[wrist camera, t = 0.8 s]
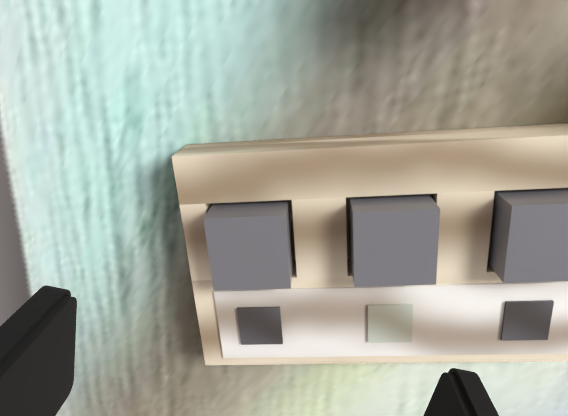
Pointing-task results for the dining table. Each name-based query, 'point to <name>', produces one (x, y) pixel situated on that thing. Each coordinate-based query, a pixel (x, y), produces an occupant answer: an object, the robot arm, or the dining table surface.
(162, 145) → the dining table surface
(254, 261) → the button left
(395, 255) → the button middle
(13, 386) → the robot arm
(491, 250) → the button right
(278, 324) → the button board
